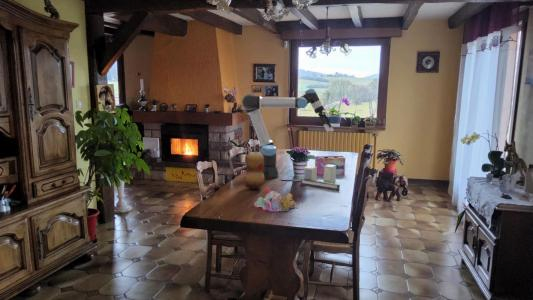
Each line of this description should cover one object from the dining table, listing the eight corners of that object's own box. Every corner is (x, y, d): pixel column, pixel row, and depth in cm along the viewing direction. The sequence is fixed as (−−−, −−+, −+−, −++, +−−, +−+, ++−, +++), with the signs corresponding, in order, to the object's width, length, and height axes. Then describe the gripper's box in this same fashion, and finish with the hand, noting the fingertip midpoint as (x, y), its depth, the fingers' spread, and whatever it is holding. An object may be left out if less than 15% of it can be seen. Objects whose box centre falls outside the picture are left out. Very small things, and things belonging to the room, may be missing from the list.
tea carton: (327, 180, 279) (328, 164, 277) (335, 181, 276) (336, 165, 274) (323, 182, 272) (324, 166, 270) (331, 183, 269) (331, 167, 267)
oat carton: (308, 181, 273) (309, 165, 271) (316, 183, 270) (317, 166, 268) (303, 184, 266) (304, 167, 264) (311, 185, 263) (312, 168, 261)
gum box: (343, 172, 305) (343, 155, 303) (346, 174, 297) (347, 157, 295) (314, 172, 302) (315, 156, 300) (317, 175, 294) (317, 158, 292)
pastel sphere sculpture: (300, 202, 225) (301, 187, 223) (289, 215, 203) (290, 198, 201) (261, 198, 233) (261, 183, 232) (247, 209, 211) (247, 193, 210)
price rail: (300, 184, 264) (300, 179, 263) (302, 184, 266) (302, 178, 265) (338, 191, 249) (338, 185, 249) (339, 190, 251) (339, 184, 251)
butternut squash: (254, 192, 243) (254, 154, 239) (240, 188, 252) (240, 152, 248) (268, 188, 253) (269, 152, 249) (254, 185, 262) (255, 149, 258)
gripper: (325, 103, 278) (338, 128, 279) (319, 106, 303) (331, 129, 304) (316, 108, 278) (329, 133, 279) (311, 110, 303) (323, 133, 304)
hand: (330, 131), depth 292 cm, fingers open, 13 cm apart
